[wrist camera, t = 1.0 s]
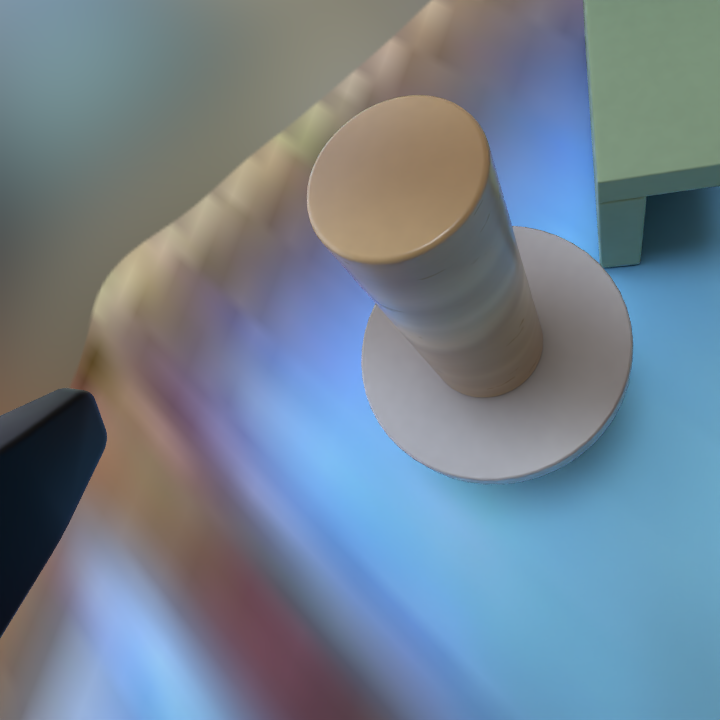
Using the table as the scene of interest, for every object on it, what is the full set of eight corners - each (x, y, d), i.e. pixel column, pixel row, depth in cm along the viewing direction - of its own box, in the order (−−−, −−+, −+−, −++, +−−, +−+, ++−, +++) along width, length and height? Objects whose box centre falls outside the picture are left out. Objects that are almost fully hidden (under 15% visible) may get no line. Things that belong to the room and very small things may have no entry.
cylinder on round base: (613, 523, 17) (617, 443, 7) (392, 478, 20) (141, 371, 9) (640, 303, 19) (679, -51, 8) (432, 290, 22) (256, 12, 11)
